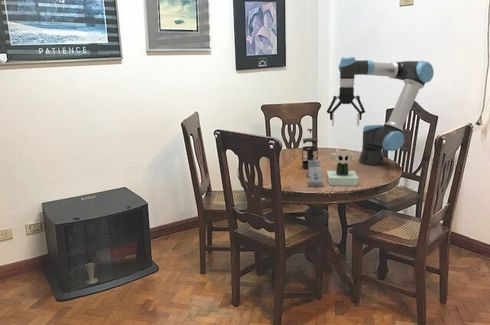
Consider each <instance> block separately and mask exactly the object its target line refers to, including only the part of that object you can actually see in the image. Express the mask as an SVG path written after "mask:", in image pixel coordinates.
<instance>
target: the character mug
mask: <svg viewBox="0 0 490 325" xmlns="http://www.w3.org/2000/svg"><path fill="white" fill-rule="evenodd" d="M331 154H332V155H331V159H332V160H335V162H336V163H337V166H336V170H335V171H336V173H337V174H340V175H342V173H344V175H346V174H348V171H349V166H348V163H349V162H350V160H354V156H355V155H354V153H352V152H351V150H350V149H349V148H336V150H335V152H333V153H331Z"/></svg>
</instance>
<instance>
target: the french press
mask: <svg viewBox="0 0 490 325" xmlns="http://www.w3.org/2000/svg"><path fill="white" fill-rule="evenodd" d="M314 130H315V129H313V128H307V129H306V131H309V137H305V138H302V142H303V144H306V143H309V145H306V146H303V147H302V149H301V150H302V151H301V152H302V153H301V155H302V156H301V159H302V160H301V164H302V165H301V169H304V170H308V160H319V159H318V158H319V156H318V155H319V154H318V153H319V152H318V150H319V149H318V147H317V146H314V145H317V144H318V141H319V139H318V138H312V135H311V134H312V131H314ZM311 143H312V144H314V145H311ZM304 152H306V155H304ZM314 152H316V155H314Z"/></svg>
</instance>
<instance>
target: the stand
mask: <svg viewBox="0 0 490 325" xmlns="http://www.w3.org/2000/svg"><path fill="white" fill-rule="evenodd" d="M326 178H327V182H328V185H329V186H341V187H342V186H344V187H345V186H347V187H350V186H351V187H352V186H354V187H355V186H357V187H358V183H359V182H358V180H359V176H358V175H357V173H356V171H355V170H348V174H346V175H344V173H342V175H340V174H337V173H336V170H326Z"/></svg>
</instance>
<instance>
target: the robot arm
mask: <svg viewBox="0 0 490 325" xmlns="http://www.w3.org/2000/svg"><path fill="white" fill-rule="evenodd" d="M434 70H435V69H434V67H433V65H432V64H431V63H430V62H429V61H424V60H411V61H410V60H403V61H391V62H377V61H376V62H375V61H373V60H370V59H369V60H368V59H366V60H365V59H364V60H362V59H359V60H358V59H357V60H356V57H355V56H343V57H341V58H340V62H339V64H338V71H339V86H340V87H339V94H338V95H337V96H336V95H333V96H332V97H333V98H332V100H331V102H330V105H329V106H328V108H327V109H326V113H327V114H329V120H330V121H331V127H334V126H335V125H334V124H335V114H334V113H335V111H337V109H338V108H339V107H340V106H341V105H350V104H351V105H352V107H353V108H354V109H355V110H356V111H357V112H358V113H357V116H356V118H357V119H356V126H357V127H360V121H361V120H362V116H363V115H362V114H365V113H366V110H365V108H364V106H363V103H362V102H361V98H360V97H361V96H360V95H358V94H357V95H355V88H354V86H355V76H356V75H357V76H359V75H360V76H376V77H379V76H380V77H388V78H389V79H395V80H399V81H403V83H404V86H403V88H402V90H401V92H400V94H399V96H398V98H397V101H396V104H395V105H394V108H393V110H392V112H391V115H390V116H389V119H388V121H387V122H385V123H384V124H372V125H371V124H370V125H368V124H367V125H364V126H363V130H362V146H361V147H362V148H361V151H360V155H359V157H358V163H359V164H362V165H365V166H366V165H367V166H382V165H384V164H385V157H384V156H385V155H384V153H383V150H384V151H385V150H386V151H390V152H395V151H398V150H399V149H401V148H402V146H403V145H404V142H405V135H404V129H403V127H404V125H405V123H406V120H407V118H408V116H409V114H410V111H411V109H412V106H413V104H414V102H415V100H416V99H417V96H418V94H419V91H420V90H421V89H424V88H425V85H426V84H427V83H429V82H431V81H432V80H433V77H434ZM354 99H355V100H356V101H357V103H358V106H359V107H360V109H359V107H358V106H357V105H356V104H355V103H354ZM337 100H338V102H337V104H336V105H335V106H334V104H335V103H336V101H337ZM333 106H334V107H333Z"/></svg>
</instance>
